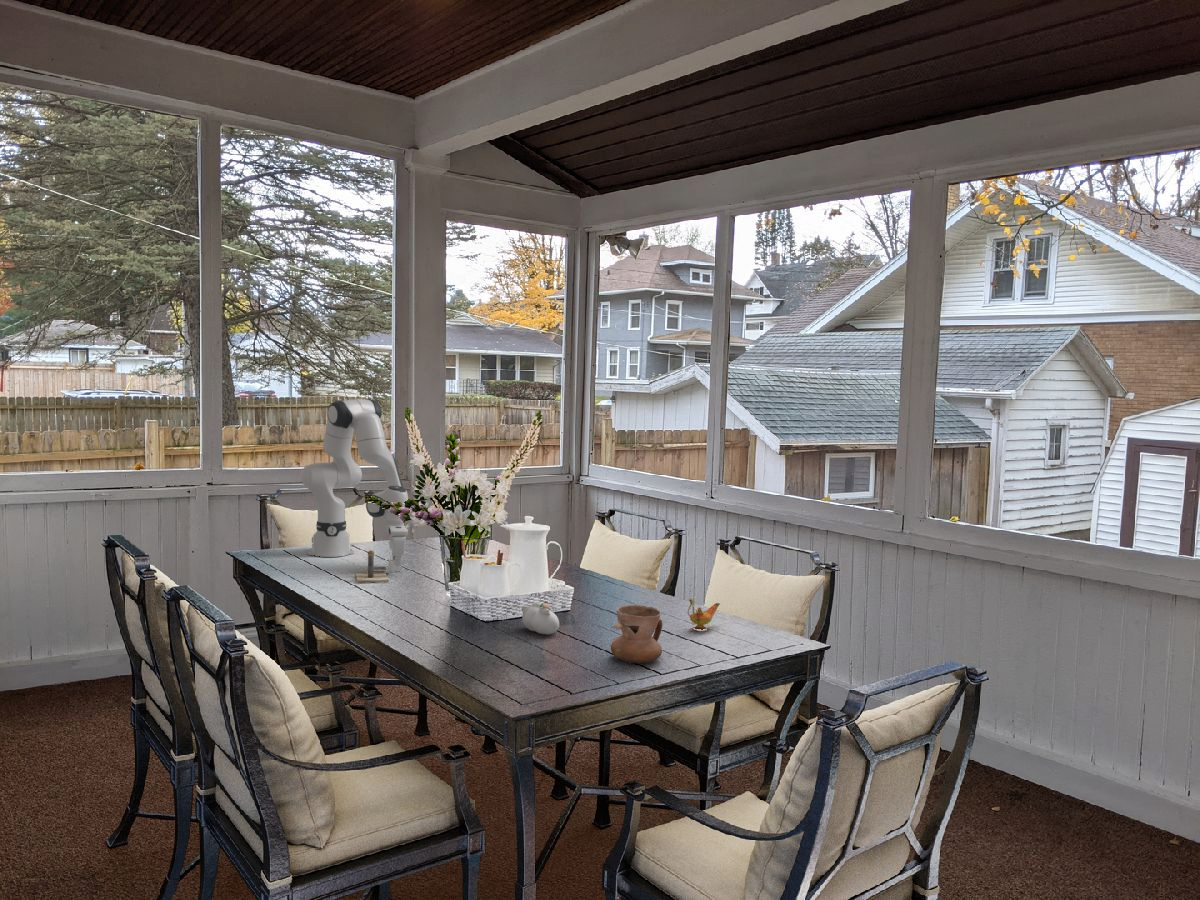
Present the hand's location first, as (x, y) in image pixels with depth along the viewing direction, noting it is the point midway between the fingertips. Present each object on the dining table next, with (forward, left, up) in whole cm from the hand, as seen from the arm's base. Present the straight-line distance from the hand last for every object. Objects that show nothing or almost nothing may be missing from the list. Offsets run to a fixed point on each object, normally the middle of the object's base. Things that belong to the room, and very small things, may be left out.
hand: (396, 562), depth 350 cm
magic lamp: (+99, +85, -4) cm, 130 cm away
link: (0, -4, -3) cm, 6 cm away
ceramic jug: (+123, +53, -4) cm, 134 cm away
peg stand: (+11, -10, -3) cm, 16 cm away
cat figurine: (+91, +33, -4) cm, 96 cm away
